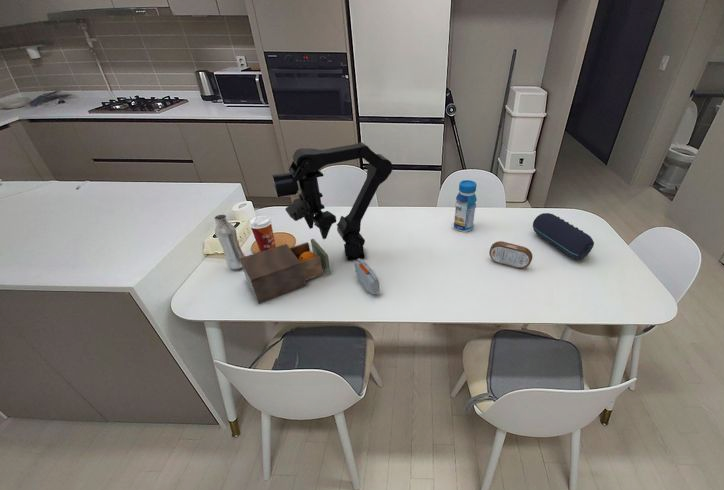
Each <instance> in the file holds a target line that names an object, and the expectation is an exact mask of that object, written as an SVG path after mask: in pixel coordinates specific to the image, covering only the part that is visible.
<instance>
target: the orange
mask: <svg viewBox="0 0 724 490" xmlns="http://www.w3.org/2000/svg"><path fill="white" fill-rule="evenodd" d="M314 257H316V255H315V254H314V253H313V251H310V252H304V253H302V254H301V255H300V257H299V261H300V262H302V261H305V260H308V259H311V258H314Z"/></svg>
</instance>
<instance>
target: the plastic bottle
mask: <svg viewBox="0 0 724 490" xmlns="http://www.w3.org/2000/svg"><path fill="white" fill-rule="evenodd" d="M214 221H215V224H216V225H215V229H214V234H215V236H216V239H217V240H218V242H219V243H220V246H221V248H222V250H223V254H224V257H225V263H226V265H227V267H228V268H230V269H231V270H240V269H243V268H242V265H241V262H240V259H239V258H243V257H246V256H245V253H244V252H243V250H242V248H241V246H240V243H239V240H238V235H237V229H236V227H235V225H233V224H232V223H230V222H229V219H228V217H227V215H226V214H218V215H215V216H214Z"/></svg>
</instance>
